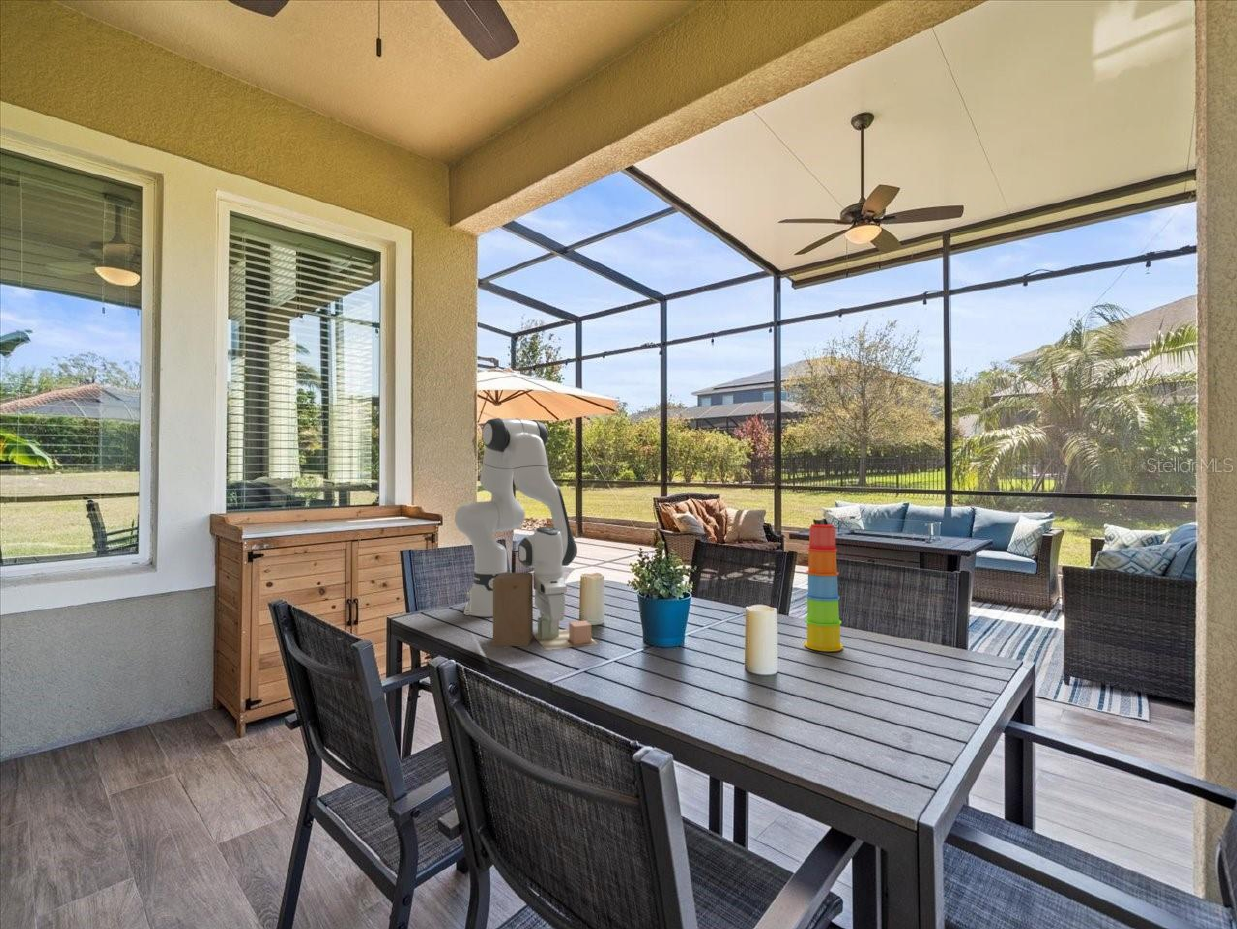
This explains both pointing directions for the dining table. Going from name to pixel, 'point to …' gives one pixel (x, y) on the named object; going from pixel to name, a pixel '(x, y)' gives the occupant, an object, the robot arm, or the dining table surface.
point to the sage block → (546, 628)
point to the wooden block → (512, 609)
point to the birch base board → (559, 641)
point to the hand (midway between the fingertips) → (548, 629)
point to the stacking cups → (822, 591)
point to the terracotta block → (580, 632)
